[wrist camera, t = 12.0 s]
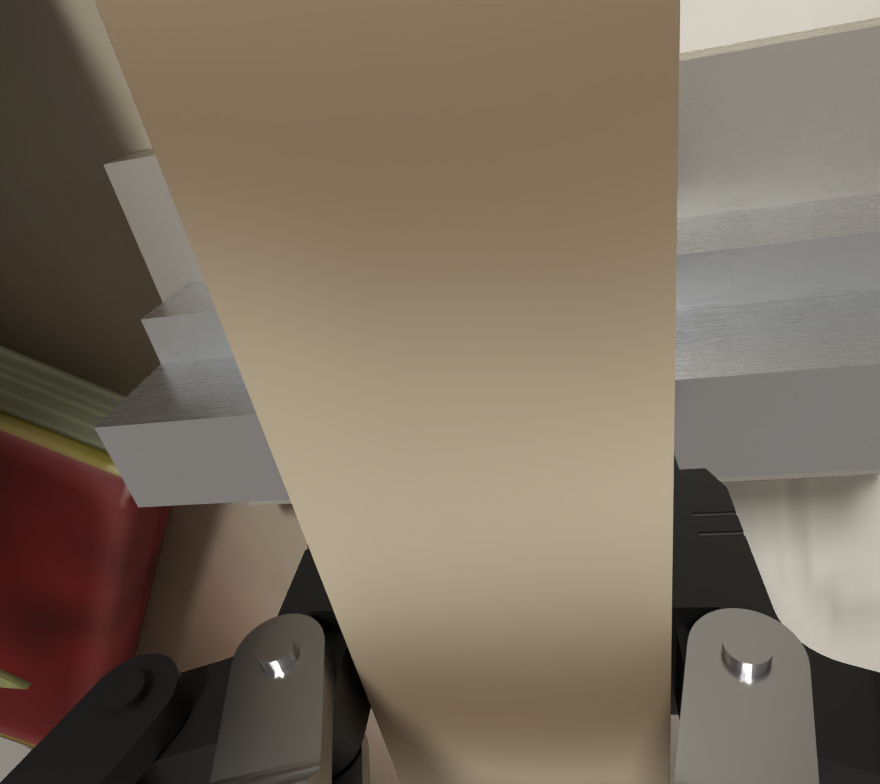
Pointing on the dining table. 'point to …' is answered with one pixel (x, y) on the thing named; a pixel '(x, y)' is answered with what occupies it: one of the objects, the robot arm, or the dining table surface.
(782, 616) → the dining table surface
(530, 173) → the beech batten
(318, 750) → the robot arm
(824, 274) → the ridge
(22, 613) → the hardcover book
